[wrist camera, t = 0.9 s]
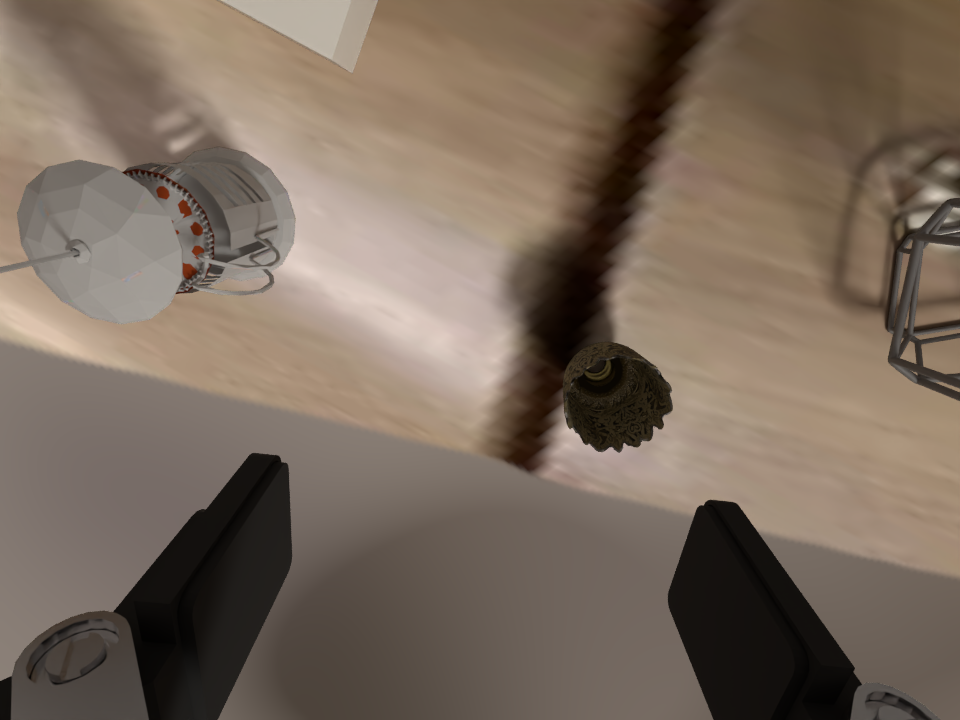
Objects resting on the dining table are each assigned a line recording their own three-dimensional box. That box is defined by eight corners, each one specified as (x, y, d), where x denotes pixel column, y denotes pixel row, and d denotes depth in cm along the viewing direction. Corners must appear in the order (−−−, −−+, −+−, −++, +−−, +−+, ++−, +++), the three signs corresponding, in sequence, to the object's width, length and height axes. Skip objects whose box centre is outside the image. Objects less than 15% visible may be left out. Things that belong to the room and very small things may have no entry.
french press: (177, 123, 35) (-403, 56, 12) (334, 191, 37) (83, 246, 14) (154, 251, 39) (-334, 387, 16) (298, 308, 41) (48, 509, 17)
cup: (533, 355, 42) (543, 398, 34) (608, 303, 40) (636, 336, 33) (583, 418, 44) (602, 470, 37) (656, 371, 42) (692, 416, 35)
